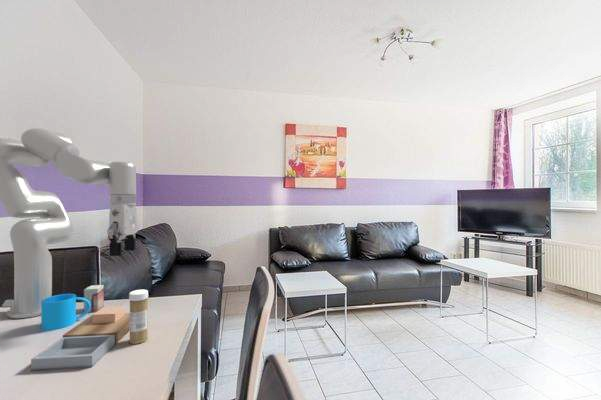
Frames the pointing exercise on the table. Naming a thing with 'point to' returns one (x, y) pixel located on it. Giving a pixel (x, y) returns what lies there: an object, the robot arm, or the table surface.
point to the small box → (94, 297)
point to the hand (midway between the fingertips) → (123, 252)
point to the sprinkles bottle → (138, 316)
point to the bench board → (102, 328)
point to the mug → (60, 311)
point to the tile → (108, 314)
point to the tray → (73, 352)
